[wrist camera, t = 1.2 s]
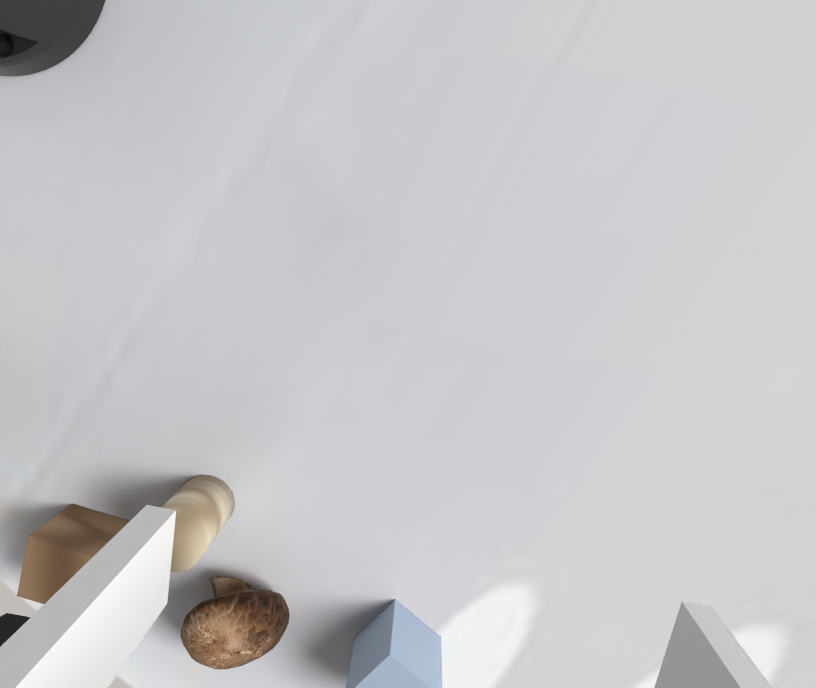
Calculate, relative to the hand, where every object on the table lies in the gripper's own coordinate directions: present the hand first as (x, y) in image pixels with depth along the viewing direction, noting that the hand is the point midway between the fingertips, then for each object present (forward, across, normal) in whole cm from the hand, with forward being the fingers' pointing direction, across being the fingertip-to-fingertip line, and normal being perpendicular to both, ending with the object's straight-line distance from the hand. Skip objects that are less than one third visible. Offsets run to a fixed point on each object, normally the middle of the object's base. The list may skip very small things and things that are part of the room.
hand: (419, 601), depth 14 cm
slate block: (+27, +2, -23) cm, 36 cm away
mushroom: (+27, -11, -23) cm, 37 cm away
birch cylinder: (+27, -15, -14) cm, 34 cm away
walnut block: (+27, -24, -20) cm, 41 cm away
